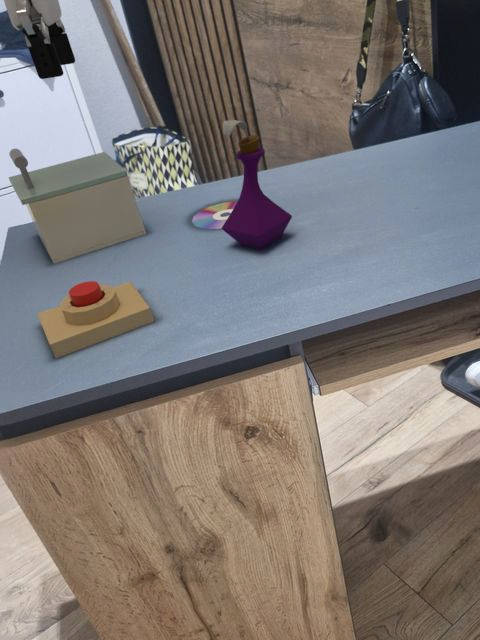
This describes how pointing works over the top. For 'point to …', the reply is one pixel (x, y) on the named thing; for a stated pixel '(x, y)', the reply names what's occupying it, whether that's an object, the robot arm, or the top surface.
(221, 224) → the cd
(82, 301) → the button
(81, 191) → the compartment
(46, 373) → the top surface
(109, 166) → the lid
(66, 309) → the control block
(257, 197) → the perfume bottle
